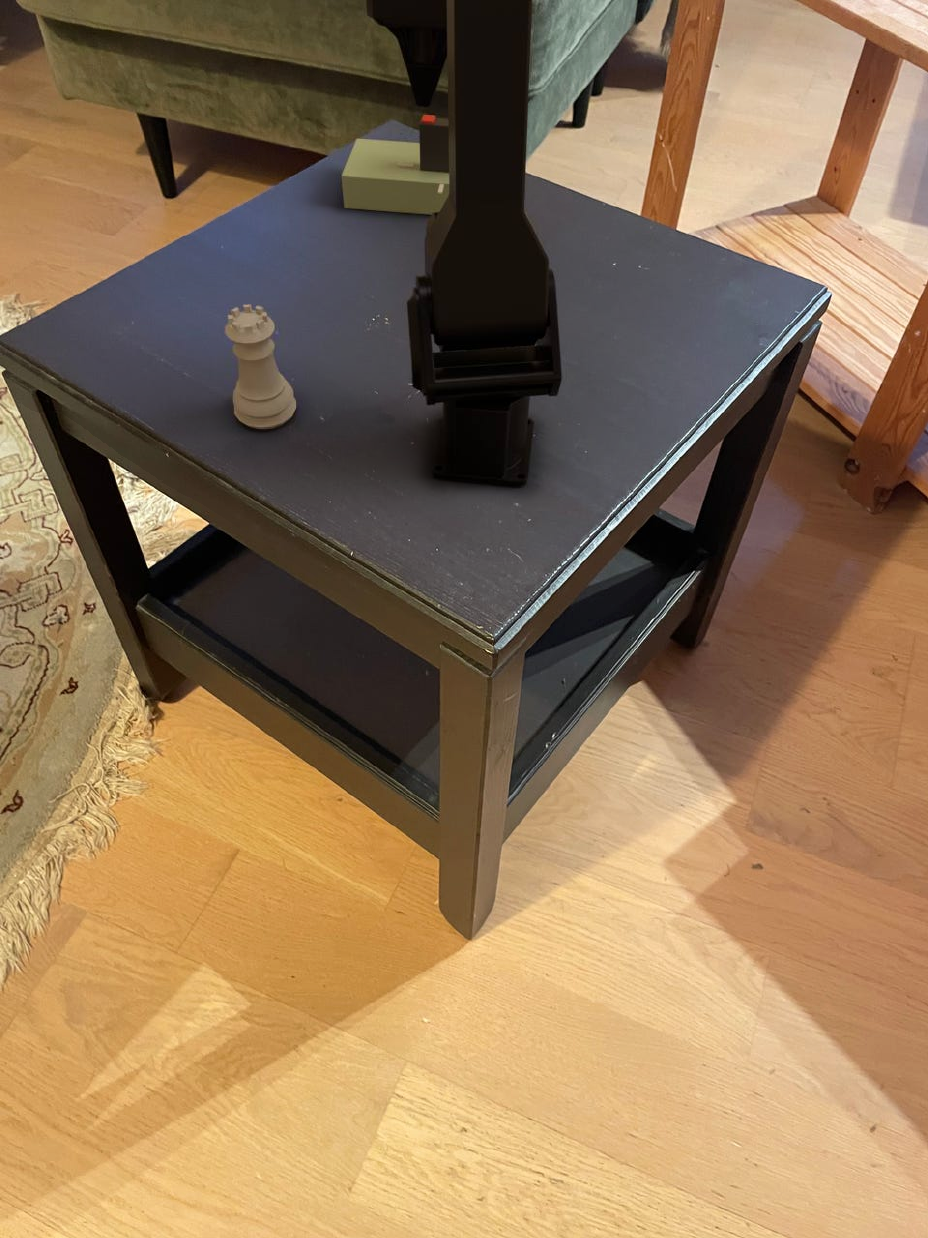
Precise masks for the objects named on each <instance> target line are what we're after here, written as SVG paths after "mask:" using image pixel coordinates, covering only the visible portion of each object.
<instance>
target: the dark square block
mask: <svg viewBox="0 0 928 1238" xmlns="http://www.w3.org/2000/svg"><path fill="white" fill-rule="evenodd" d="M418 132H419V133H418V135H419V136H418V137H419V140H418V141H419V143H420V170H424V171H437V172H449V131H448V118H441V117H436V115H434V114H432V115H431V114H423V115H422V116H421V118H420V120H419V124H418Z"/></svg>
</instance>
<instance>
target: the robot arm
mask: <svg viewBox="0 0 928 1238" xmlns="http://www.w3.org/2000/svg"><path fill="white" fill-rule="evenodd" d="M365 5H366V16H367V17H369V18H370V19H373V21H374V22H375V23H376V24H377V25H378V26H379V27H380V26H381V27H385V28H386V29H387V30H388V31H389V32H390V33H391V34H392V35H393V36H394V37H395V38H396V40H397V42H398V46H399V49H400V52H401V55H402V59H403V62H404V66H405V69H406V73H407V76H408V80H409V84H410V88H411V91H412V96H413V99H414V102H415V105H416V106H417V107H419V108H420V107H422V108H429V107H431V105H432V103H433V99H434V96H435V94H436V90H437V87H438V84H439V82H440V79H441V76H442V73H443V69H444V66H445V63H446V61H447V109H448V110H447V112H448V113H447V119H448V131H449V196H448V197H447V199H446V201H445V203H444V204H443V206H442V208H441V210H440V211H439V212H433V213H432V215H430V217H429V219H428V222H427V224H426V226H425V230H426V231H425V237H424V274H422V275H421V274H420V275H419V274H418V275H415V286H413V288H412V294H411V296H409V298H408V299H407V301H406V313H407V314H406V315H407V325H408V326H407V327H408V338H409V339H408V340H409V351H410V352H409V353H410V367H411V385H412V388H414V389H415V390H417V391H419V392H421V394H422V396H423V397H425V403H426V406H435V405H436V404H442V418H441V422H440V428H439V432H438V437H437V442H436V446H435V452H434V455H433V456H434V457H433V461H432V467H431V475H432V476H433V477H434V478H436V479H442V480H443V479H445V480H455V481H464V482H465V481H466V482H476V483H484V484H485V483H486V484H496V485H506V486H517V487H523V486H526V485H527V484H528V481H529V480H528V479H529V473H530V471H529V470H530V462H531V453H532V452H531V451H532V444H533V435H534V425H535V422H534V420H533V419H531V418H529V412H530V411H529V410H530V400H531V397H539V396H541V397H542V396H548V397H557V396H558V394H559V391H560V387H561V383H562V380H563V373H562V372H563V371H562V355H561V343H560V330H559V329H560V328H559V315H558V300H557V299H558V297H557V286H556V280H555V274H554V271H553V269H552V268H551V267H550V259H549V255H548V254H547V252H546V250H545V248H544V245H543V244H542V242H541V240H540V238H539V235H538V234H537V231H536V229H535V227H534V226H533V224H532V221H531V220H530V218H529V217H528V214H527V213H526V210H525V191H526V171H527V169H526V168H527V167H526V166H527V144H528V142H527V140H528V115H529V91H530V90H529V89H530V67H531V45H532V44H531V40H532V18H533V17H532V16H533V0H365ZM432 336H433V337H432ZM433 343H434V344H435V345H436V346H437V347H438V349H439V351H437V352H434V348H433Z"/></svg>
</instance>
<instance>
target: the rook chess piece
mask: <svg viewBox="0 0 928 1238" xmlns="http://www.w3.org/2000/svg"><path fill="white" fill-rule="evenodd" d="M230 313H231V314H228V315H227V321H228V322H227V324H225V326H224V334H225V335H226V337H227V338H228V339H229V340H230V341H232V342H233V343H234V344H233V345H232V353H233V355H235V357H236V359H237V364H238V379H237V380H236V382H235V387H234V390H233V391H232V404H233V414H234V415H235V417H236V418H237V419H238V421H239V422H241V423H242V424H244V425H246V426H248V427H249V428H251V429H256V430H261V431H262V430H273V429H276V428H278V427H281V426H283V425H284V424H285V423H287V422H288V421H289V420H290V419H291V418H292V417H293V415H294V413H295V411H296V408H297V401H296V398H295V397H294V396H295V395H294V389H293V388H292V385H291V384H290V383H289V382H288V381H287V379H286V378H285V377H284V376H283V374H282V373H280V371H279V369H278V365H277V363H276V362H277V361H276V359H275V357H274V351H275V342H274V341H273V340H272V338H271V336H272V335H273V333H274V331H275V329H276V328H275V327H276V326H275V321H273V320H272V318H270V317H269V316H268V313H267V311H264V307H262V306H261V305H256V306H255V310H254V309H253V308H252V304H250V303H249V304H247V303H246V304H243V311H240V309H239V308H238V307H237V306H236V307H234V308H233V309H231V310H230Z"/></svg>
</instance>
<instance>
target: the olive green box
mask: <svg viewBox="0 0 928 1238" xmlns="http://www.w3.org/2000/svg"><path fill="white" fill-rule="evenodd" d="M341 185H342V196H343V207H344V209H354V210H367V211H369V210H370V211H378V212H379V211H380V212H390V213H391V212H392V213H403V214H404V213H407V214H419V215H430V216H431V215H432V213H433V212H439V211H440V210H441V208H442V206H443V204H444V203H445V201H446V199H447V197H448V196H449V172H437V171H424V170H420V142H408V141H395V140H383V139H382V140H381V139H371V138H370V139H369V138H356V139H355V141H354V144H353V146H352V149H351V151H350V154H349V156H348V158H347V160H346V163H345V166H344V169H343V171H342V174H341Z"/></svg>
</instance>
